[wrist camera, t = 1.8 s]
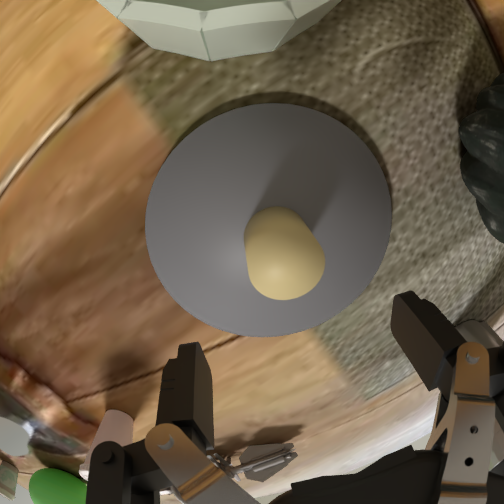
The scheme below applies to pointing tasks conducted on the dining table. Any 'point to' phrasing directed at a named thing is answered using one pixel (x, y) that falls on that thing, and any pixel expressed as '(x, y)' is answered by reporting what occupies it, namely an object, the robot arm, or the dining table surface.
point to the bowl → (218, 24)
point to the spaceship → (251, 464)
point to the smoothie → (110, 434)
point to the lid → (268, 220)
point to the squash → (486, 156)
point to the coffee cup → (8, 480)
